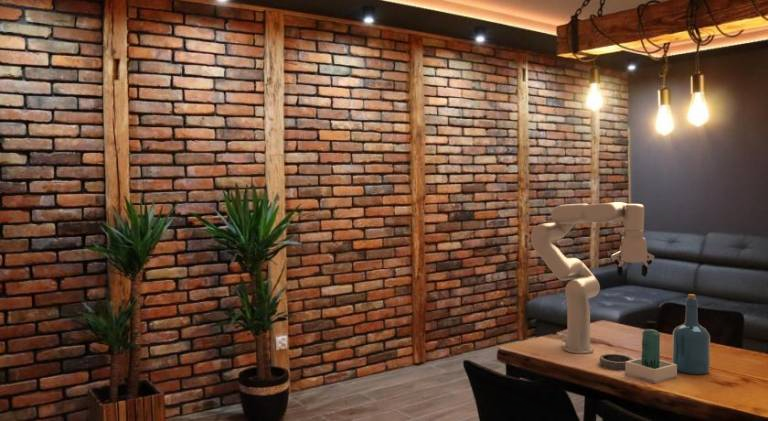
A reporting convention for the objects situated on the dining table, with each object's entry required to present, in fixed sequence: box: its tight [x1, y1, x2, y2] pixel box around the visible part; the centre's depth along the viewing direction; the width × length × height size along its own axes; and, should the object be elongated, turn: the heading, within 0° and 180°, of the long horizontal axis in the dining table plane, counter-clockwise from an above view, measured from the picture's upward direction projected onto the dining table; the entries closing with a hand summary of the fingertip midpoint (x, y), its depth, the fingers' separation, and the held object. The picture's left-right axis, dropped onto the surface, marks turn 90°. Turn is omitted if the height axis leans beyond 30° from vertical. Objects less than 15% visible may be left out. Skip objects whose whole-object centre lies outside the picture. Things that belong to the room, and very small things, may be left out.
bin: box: [624, 357, 678, 384], centre depth 246 cm, size 13×13×5 cm
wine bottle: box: [671, 293, 711, 376], centre depth 252 cm, size 14×13×30 cm
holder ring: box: [598, 353, 634, 371], centre depth 260 cm, size 12×12×3 cm
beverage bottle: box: [641, 320, 661, 369], centre depth 246 cm, size 6×7×20 cm
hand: (631, 275), depth 264 cm, fingers open, 9 cm apart
